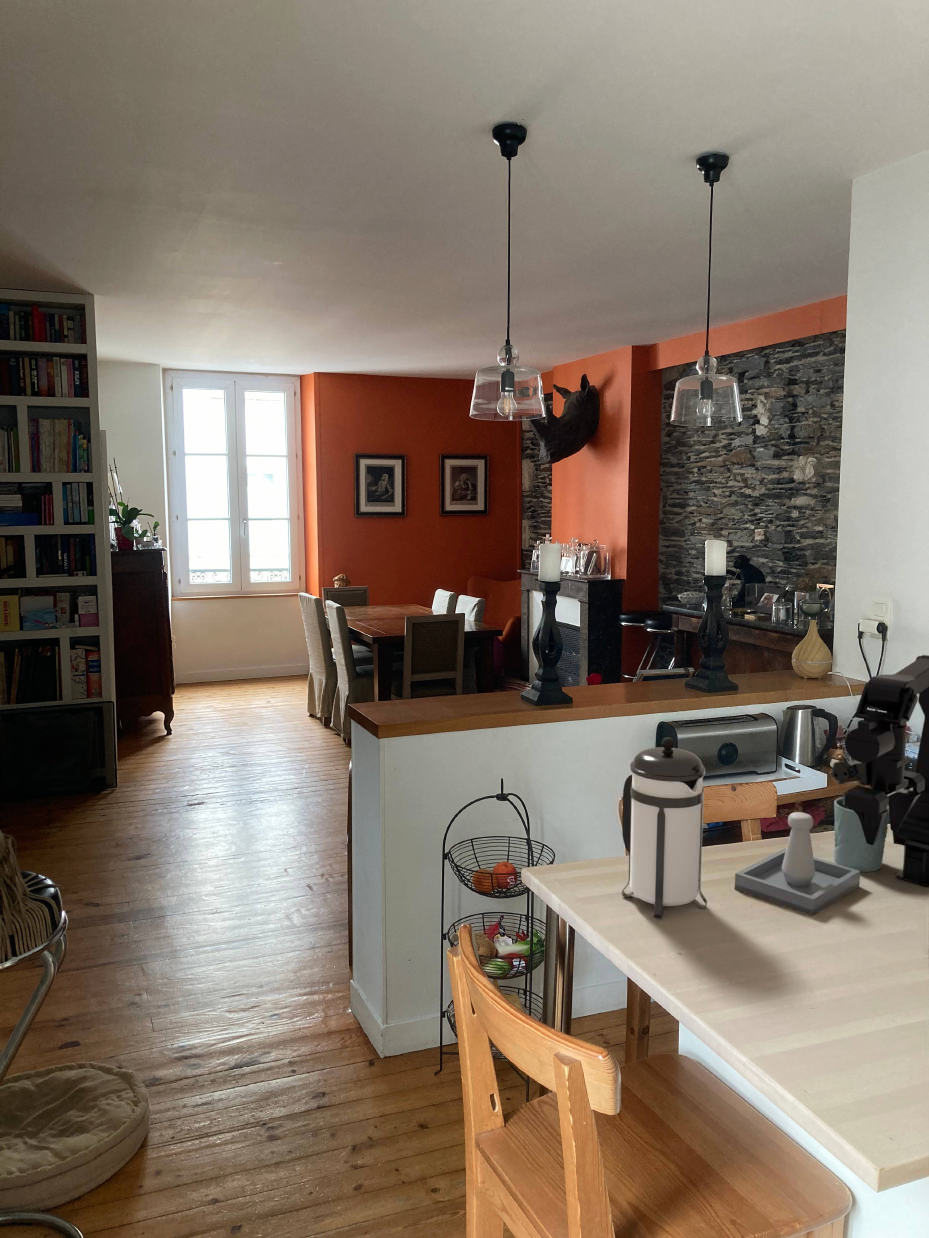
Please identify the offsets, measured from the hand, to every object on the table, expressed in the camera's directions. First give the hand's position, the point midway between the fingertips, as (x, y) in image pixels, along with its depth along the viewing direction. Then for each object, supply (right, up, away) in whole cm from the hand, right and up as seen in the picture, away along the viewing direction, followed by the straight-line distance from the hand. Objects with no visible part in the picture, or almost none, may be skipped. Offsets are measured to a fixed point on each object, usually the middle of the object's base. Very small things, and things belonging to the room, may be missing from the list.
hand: (882, 837), depth 159 cm
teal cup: (+5, -10, +21) cm, 24 cm away
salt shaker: (-11, -11, +10) cm, 18 cm away
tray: (-11, -12, +10) cm, 19 cm away
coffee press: (-38, -12, +5) cm, 40 cm away
